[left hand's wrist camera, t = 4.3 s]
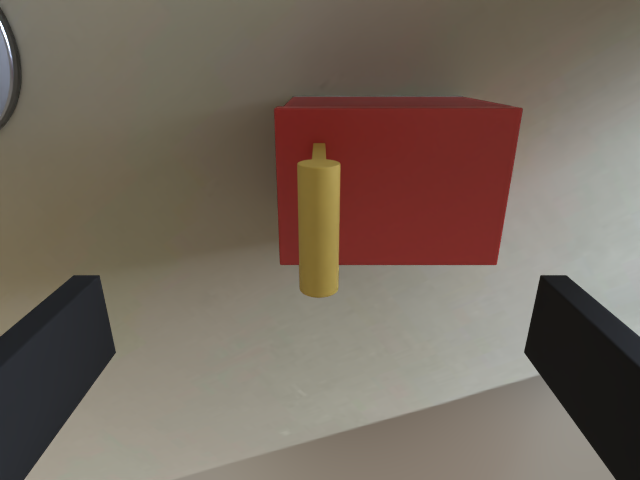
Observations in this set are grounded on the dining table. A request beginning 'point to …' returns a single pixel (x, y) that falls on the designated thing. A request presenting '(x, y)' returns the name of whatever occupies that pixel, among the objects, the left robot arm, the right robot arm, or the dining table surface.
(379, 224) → the lid
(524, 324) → the dining table surface
